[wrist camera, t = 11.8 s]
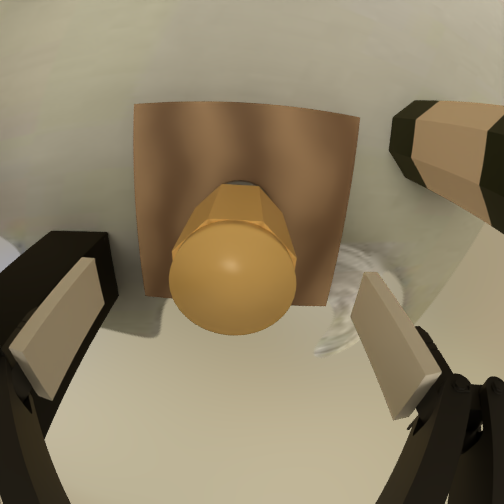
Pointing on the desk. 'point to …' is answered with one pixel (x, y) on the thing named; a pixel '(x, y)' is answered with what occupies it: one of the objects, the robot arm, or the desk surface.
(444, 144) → the labelled green bottle
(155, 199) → the walnut board
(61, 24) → the desk surface
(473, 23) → the desk surface
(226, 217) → the ochre cap
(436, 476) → the robot arm
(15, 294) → the black pillar candle
